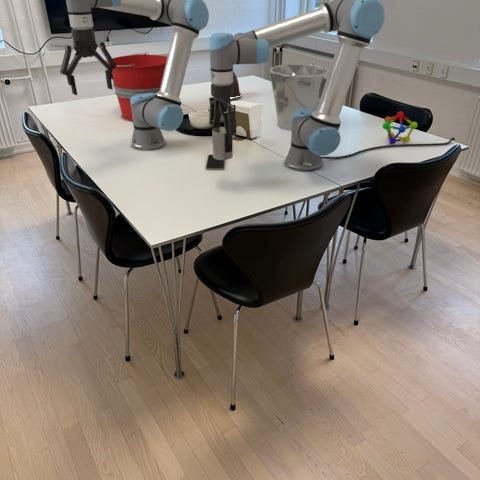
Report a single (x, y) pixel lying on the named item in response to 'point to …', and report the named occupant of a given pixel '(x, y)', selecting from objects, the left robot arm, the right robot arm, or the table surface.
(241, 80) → the table surface
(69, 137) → the table surface
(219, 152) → the can
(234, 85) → the bell
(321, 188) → the table surface
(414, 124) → the educational toy
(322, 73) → the bucket
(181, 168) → the table surface
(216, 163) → the smartphone
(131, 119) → the bucket
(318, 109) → the right robot arm
